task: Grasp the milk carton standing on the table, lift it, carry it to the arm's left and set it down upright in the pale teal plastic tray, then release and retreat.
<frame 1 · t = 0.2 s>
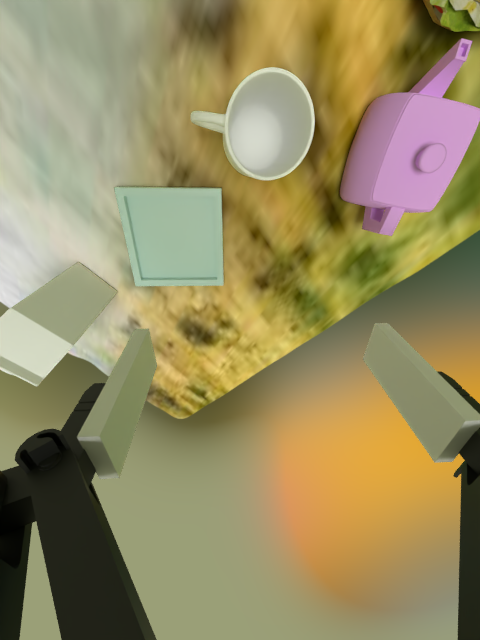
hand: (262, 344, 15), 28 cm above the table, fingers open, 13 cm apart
mug: (243, 135, 33), on the table
tray: (176, 238, 39), on the table
milk carton: (88, 290, 43), on the table
teapot: (382, 156, 35), on the table
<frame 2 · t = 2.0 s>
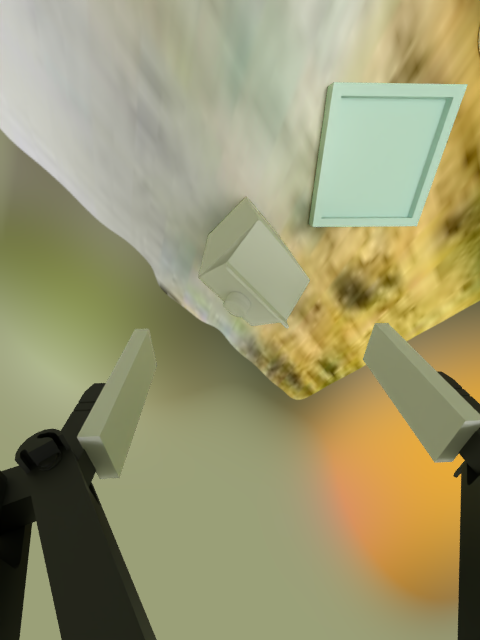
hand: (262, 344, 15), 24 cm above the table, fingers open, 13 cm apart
tray: (373, 163, 31), on the table
milk carton: (244, 235, 35), on the table
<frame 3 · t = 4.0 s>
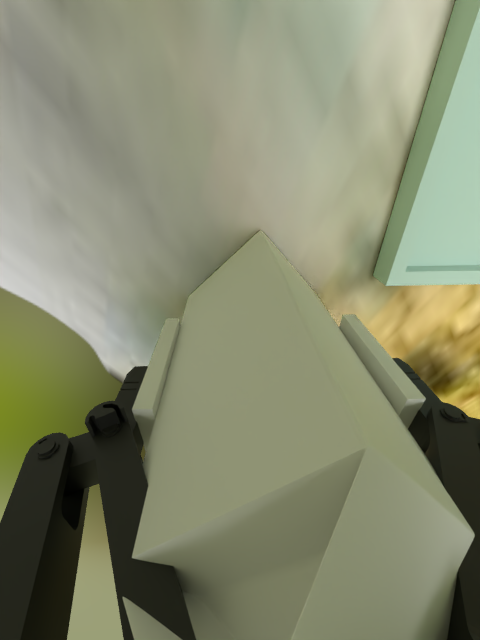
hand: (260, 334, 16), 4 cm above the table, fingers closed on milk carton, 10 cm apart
milk carton: (254, 295, 19), on the table, touching gripper
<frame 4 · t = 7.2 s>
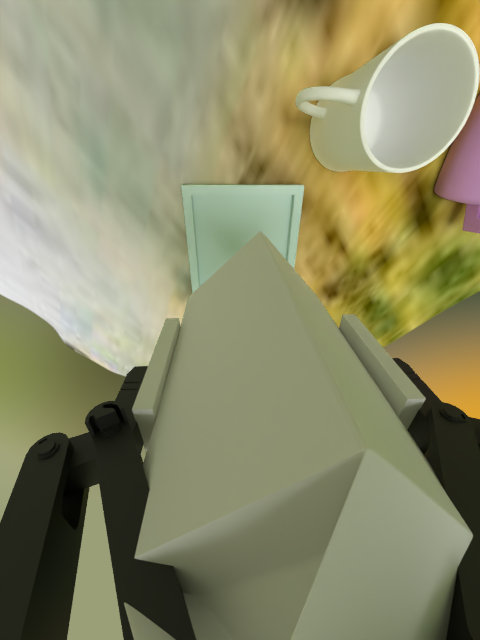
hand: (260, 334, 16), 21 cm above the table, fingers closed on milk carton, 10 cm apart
mug: (334, 122, 28), on the table
tray: (242, 243, 34), on the table
milk carton: (254, 296, 19), point 17 cm above the table, touching gripper
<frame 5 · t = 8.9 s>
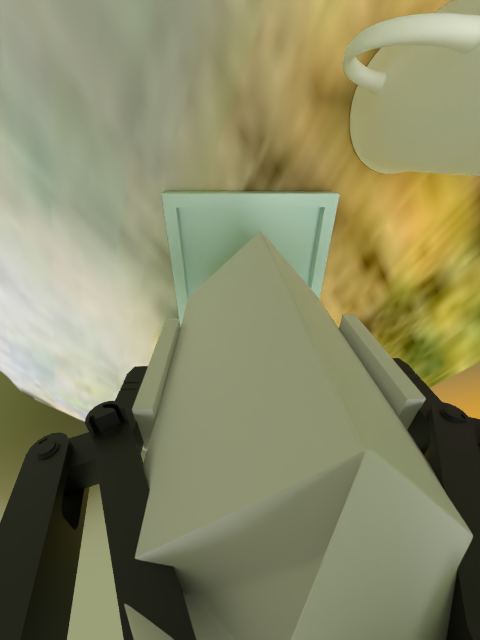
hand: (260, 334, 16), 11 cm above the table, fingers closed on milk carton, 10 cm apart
mug: (386, 100, 19), on the table
tray: (248, 270, 25), on the table
milk carton: (254, 296, 19), point 6 cm above the table, touching gripper
when the fingers open (7 cm above the table, at t = 10.3 s): milk carton drops 2 cm, resting on tray.
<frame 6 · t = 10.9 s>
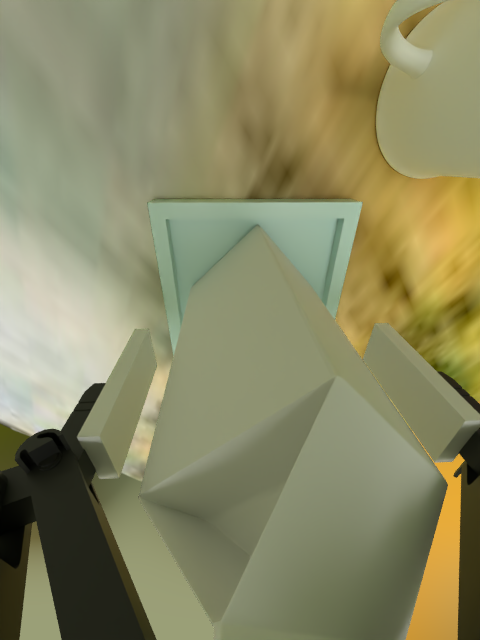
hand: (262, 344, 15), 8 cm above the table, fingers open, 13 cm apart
mug: (421, 89, 15), on the table
tray: (251, 289, 22), on the table
milk carton: (252, 286, 21), point 1 cm above the table, touching tray
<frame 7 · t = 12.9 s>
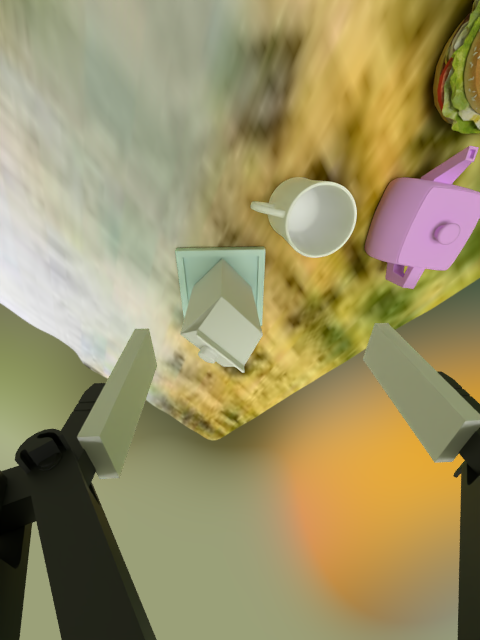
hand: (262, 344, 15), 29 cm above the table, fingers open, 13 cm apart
mug: (284, 206, 39), on the table
tray: (222, 287, 45), on the table
food: (474, 75, 32), on the table
milk carton: (222, 285, 44), point 1 cm above the table, touching tray
teapot: (401, 218, 41), on the table
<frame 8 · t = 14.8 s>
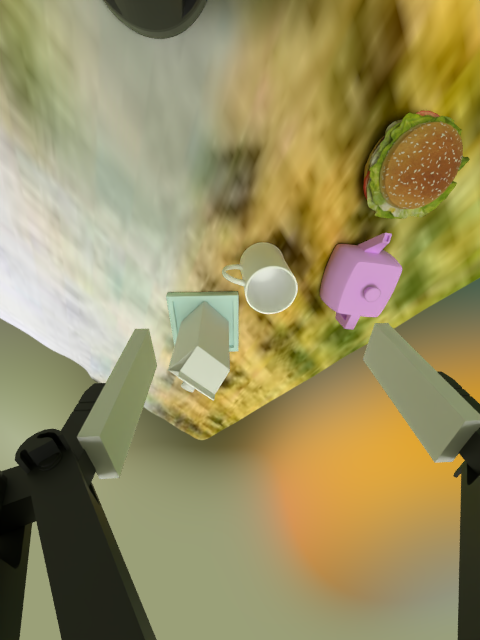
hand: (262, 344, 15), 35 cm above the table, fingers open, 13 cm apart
mug: (253, 262, 49), on the table
tray: (205, 321, 55), on the table
food: (395, 171, 42), on the table
milk carton: (205, 320, 54), point 1 cm above the table, touching tray
teapot: (348, 270, 51), on the table
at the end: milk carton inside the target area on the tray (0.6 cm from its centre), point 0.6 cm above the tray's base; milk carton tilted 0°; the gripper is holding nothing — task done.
